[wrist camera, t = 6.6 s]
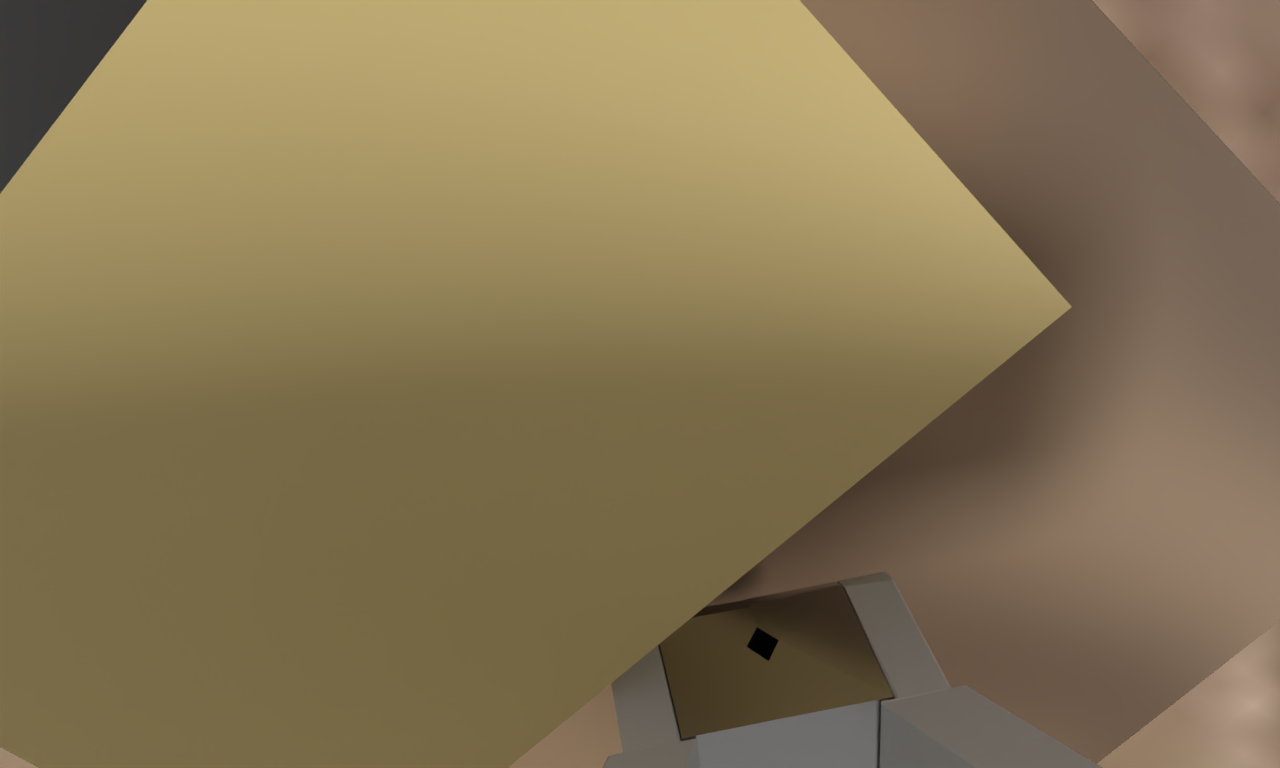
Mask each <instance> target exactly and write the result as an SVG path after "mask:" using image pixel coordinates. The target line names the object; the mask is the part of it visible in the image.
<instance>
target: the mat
mask: <svg viewBox="0 0 1280 768" xmlns="http://www.w3.org/2000/svg"><path fill="white" fill-rule="evenodd" d="M146 1H147V0H0V194H1V192H2V191H3V190H4V188H5V187H6V186H7V184H8V183H9V182H10V180H11V179H12V178H13V176H14V175H15V174H16V172H17V171H18V170H19V169H20V167H21V166H22V165H23V163H24V162H25V161H26V159H27V158H28V157H29V155H30V154H31V153H32V151H33V150H34V149H35V147H36V146H37V145H38V144H39V142H40V141H41V140H42V138H43V137H44V136H45V134H46V133H47V132H48V130H49V129H50V128H51V126H52V125H53V124H54V122H55V121H56V120H57V119H58V117H59V116H60V115H61V113H62V112H63V111H64V109H65V108H66V107H67V105H68V104H69V103H70V101H71V100H72V99H73V97H74V96H75V95H76V94H77V92H78V91H79V90H80V88H81V87H82V86H83V84H84V83H85V82H86V80H87V79H88V78H89V76H90V75H91V74H92V72H93V71H94V70H95V69H96V67H97V66H98V65H99V63H100V62H101V61H102V59H103V58H104V57H105V55H106V54H107V53H108V51H109V50H110V49H111V47H112V46H113V45H114V44H115V42H116V41H117V40H118V38H119V37H120V36H121V34H122V33H123V32H124V30H125V29H126V28H127V26H128V25H129V24H130V23H131V21H132V20H133V19H134V17H135V16H136V15H137V13H138V12H139V11H140V9H141V8H142V7H143V5H144V4H145V3H146Z"/></svg>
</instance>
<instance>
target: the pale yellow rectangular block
mask: <svg viewBox="0 0 1280 768" xmlns="http://www.w3.org/2000/svg"><path fill="white" fill-rule="evenodd" d="M1071 307H1072V306H1071V305H1070V304H1069V303H1068V302H1067V301H1066V300H1065V299H1064V297H1063V296H1062V295H1061V294H1060V293H1059V292H1058V291H1057V290H1056V288H1055V287H1054V286H1053V285H1052V284H1051V283H1050V282H1049V281H1048V279H1047V278H1046V277H1045V276H1044V275H1043V274H1042V273H1041V272H1040V270H1039V269H1038V268H1037V267H1036V266H1035V265H1034V264H1033V263H1032V261H1031V260H1030V259H1029V258H1028V257H1027V256H1026V255H1025V254H1024V252H1023V251H1022V250H1021V249H1020V248H1019V247H1018V246H1017V244H1016V243H1015V242H1014V241H1013V240H1012V239H1011V238H1010V237H1009V235H1008V234H1007V233H1006V232H1005V231H1004V230H1003V229H1002V228H1001V226H1000V225H999V224H998V223H997V222H996V221H995V220H994V219H993V217H992V216H991V215H990V214H989V213H988V212H987V211H986V210H985V208H984V207H983V206H982V205H981V204H980V203H979V202H978V201H977V199H976V198H975V197H974V196H973V195H972V194H971V193H970V192H969V190H968V189H967V188H966V187H965V186H964V185H963V184H962V183H961V181H960V180H959V179H958V178H957V177H956V176H955V175H954V174H953V172H952V171H951V170H950V169H949V168H948V167H947V166H946V165H945V163H944V162H943V161H942V160H941V159H940V158H939V157H938V155H937V154H936V153H935V152H934V151H933V150H932V149H931V148H930V146H929V145H928V144H927V143H926V142H925V141H924V140H923V139H922V137H921V136H920V135H919V134H918V133H917V132H916V131H915V130H914V128H913V127H912V126H911V125H910V124H909V123H908V122H907V121H906V119H905V118H904V117H903V116H902V115H901V114H900V113H899V112H898V110H897V109H896V108H895V107H894V106H893V105H892V104H891V103H890V101H889V100H888V99H887V98H886V97H885V96H884V95H883V94H882V92H881V91H880V90H879V89H878V88H877V87H876V86H875V85H874V83H873V82H872V81H871V80H870V79H869V78H868V77H867V75H866V74H865V73H864V72H863V71H862V70H861V69H860V68H859V66H858V65H857V64H856V63H855V62H854V61H853V60H852V59H851V57H850V56H849V55H848V54H847V53H846V52H845V51H844V50H843V48H842V47H841V46H840V45H839V44H838V43H837V42H836V41H835V39H834V38H833V37H832V36H831V35H830V34H829V33H828V32H827V30H826V29H825V28H824V27H823V26H822V25H821V24H820V23H819V21H818V20H817V19H816V18H815V17H814V16H813V15H812V14H811V12H810V11H809V10H808V9H807V8H806V7H805V6H804V5H803V3H802V2H801V1H800V0H147V1H146V3H145V4H144V5H143V7H142V8H141V9H140V11H139V12H138V13H137V15H136V16H135V17H134V19H133V20H132V21H131V23H130V24H129V25H128V26H127V28H126V29H125V30H124V32H123V33H122V34H121V36H120V37H119V38H118V40H117V41H116V42H115V44H114V45H113V46H112V47H111V49H110V50H109V51H108V53H107V54H106V55H105V57H104V58H103V59H102V61H101V62H100V63H99V65H98V66H97V67H96V69H95V70H94V71H93V72H92V74H91V75H90V76H89V78H88V79H87V80H86V82H85V83H84V84H83V86H82V87H81V88H80V90H79V91H78V92H77V94H76V95H75V96H74V97H73V99H72V100H71V101H70V103H69V104H68V105H67V107H66V108H65V109H64V111H63V112H62V113H61V115H60V116H59V117H58V119H57V120H56V121H55V122H54V124H53V125H52V126H51V128H50V129H49V130H48V132H47V133H46V134H45V136H44V137H43V138H42V140H41V141H40V142H39V144H38V145H37V146H36V147H35V149H34V150H33V151H32V153H31V154H30V155H29V157H28V158H27V159H26V161H25V162H24V163H23V165H22V166H21V167H20V169H19V170H18V171H17V172H16V174H15V175H14V176H13V178H12V179H11V180H10V182H9V183H8V184H7V186H6V187H5V188H4V190H3V191H2V192H1V194H0V747H2V748H3V749H5V750H7V751H9V752H11V753H13V754H15V755H16V756H18V757H20V758H22V759H24V760H26V761H28V762H29V763H31V764H33V765H35V766H37V767H39V768H508V767H509V766H511V765H512V764H513V763H514V762H515V761H517V760H518V759H519V758H520V757H522V756H523V755H524V754H525V753H526V752H528V751H529V750H530V749H531V748H533V747H534V746H535V745H536V744H537V743H539V742H540V741H541V740H542V739H544V738H545V737H546V736H547V735H548V734H550V733H551V732H552V731H553V730H555V729H556V728H557V727H558V726H560V725H561V724H562V723H563V722H564V721H566V720H567V719H568V718H569V717H571V716H572V715H573V714H574V713H575V712H577V711H578V710H579V709H580V708H582V707H583V706H584V705H585V704H586V703H588V702H589V701H590V700H591V699H593V698H594V697H595V696H596V695H597V694H599V693H600V692H601V691H602V690H604V689H605V688H606V687H607V686H608V685H610V684H611V683H612V682H613V681H615V680H616V679H617V678H618V677H620V676H621V675H622V674H623V673H624V672H626V671H627V670H628V669H629V668H631V667H632V666H633V665H634V664H635V663H637V662H638V661H639V660H640V659H642V658H643V657H644V656H645V655H646V654H648V653H649V652H650V651H651V650H653V649H654V648H655V647H656V646H657V645H659V644H660V643H661V642H662V641H664V640H665V639H666V638H667V637H668V636H670V635H671V634H672V633H673V632H675V631H676V630H677V629H678V628H679V627H681V626H682V625H683V624H684V623H686V622H687V621H688V620H689V619H691V618H692V617H693V616H694V615H695V614H697V613H698V612H699V611H700V610H702V609H703V608H704V607H705V606H706V605H708V604H709V603H710V602H711V601H713V600H714V599H715V598H716V597H717V596H719V595H720V594H721V593H722V592H724V591H725V590H726V589H727V588H728V587H730V586H731V585H732V584H733V583H735V582H736V581H737V580H738V579H739V578H741V577H742V576H743V575H744V574H746V573H747V572H748V571H749V570H751V569H752V568H753V567H754V566H755V565H757V564H758V563H759V562H760V561H762V560H763V559H764V558H765V557H766V556H768V555H769V554H770V553H771V552H773V551H774V550H775V549H776V548H777V547H779V546H780V545H781V544H782V543H784V542H785V541H786V540H787V539H788V538H790V537H791V536H792V535H793V534H795V533H796V532H797V531H798V530H799V529H801V528H802V527H803V526H804V525H806V524H807V523H808V522H809V521H810V520H812V519H813V518H814V517H815V516H817V515H818V514H819V513H820V512H822V511H823V510H824V509H825V508H826V507H828V506H829V505H830V504H831V503H833V502H834V501H835V500H836V499H837V498H839V497H840V496H841V495H842V494H844V493H845V492H846V491H847V490H848V489H850V488H851V487H852V486H853V485H855V484H856V483H857V482H858V481H859V480H861V479H862V478H863V477H864V476H866V475H867V474H868V473H869V472H870V471H872V470H873V469H874V468H875V467H877V466H878V465H879V464H880V463H882V462H883V461H884V460H885V459H886V458H888V457H889V456H890V455H891V454H893V453H894V452H895V451H896V450H897V449H899V448H900V447H901V446H902V445H904V444H905V443H906V442H907V441H908V440H910V439H911V438H912V437H913V436H915V435H916V434H917V433H918V432H919V431H921V430H922V429H923V428H924V427H926V426H927V425H928V424H929V423H930V422H932V421H933V420H934V419H935V418H937V417H938V416H939V415H940V414H941V413H943V412H944V411H945V410H946V409H948V408H949V407H950V406H951V405H953V404H954V403H955V402H956V401H957V400H959V399H960V398H961V397H962V396H964V395H965V394H966V393H967V392H968V391H970V390H971V389H972V388H973V387H975V386H976V385H977V384H978V383H979V382H981V381H982V380H983V379H984V378H986V377H987V376H988V375H989V374H990V373H992V372H993V371H994V370H995V369H997V368H998V367H999V366H1000V365H1001V364H1003V363H1004V362H1005V361H1006V360H1008V359H1009V358H1010V357H1011V356H1013V355H1014V354H1015V353H1016V352H1017V351H1019V350H1020V349H1021V348H1022V347H1024V346H1025V345H1026V344H1027V343H1028V342H1030V341H1031V340H1032V339H1033V338H1035V337H1036V336H1037V335H1038V334H1039V333H1041V332H1042V331H1043V330H1044V329H1046V328H1047V327H1048V326H1049V325H1050V324H1052V323H1053V322H1054V321H1055V320H1057V319H1058V318H1059V317H1060V316H1061V315H1063V314H1064V313H1065V312H1066V311H1068V310H1069V309H1070V308H1071Z"/></svg>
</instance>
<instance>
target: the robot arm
mask: <svg viewBox="0 0 1280 768" xmlns="http://www.w3.org/2000/svg"><path fill="white" fill-rule="evenodd" d="M611 686H612V692H613V698H614V704H615V710H616V715H617V721H618V727H619V733H620V739H621V745H622V750H623V753H619V754H614V755H610V756H608V758H607V760H606V761H605V763H604V765H603V767H602V768H1102V767H1100V766H1099V765H1097V764H1095V763H1094V762H1092V761H1090V760H1089V759H1087V758H1085V757H1084V756H1082V755H1080V754H1079V753H1077V752H1075V751H1074V750H1072V749H1070V748H1069V747H1067V746H1065V745H1064V744H1062V743H1060V742H1059V741H1057V740H1056V739H1054V738H1052V737H1051V736H1049V735H1047V734H1046V733H1044V732H1042V731H1041V730H1039V729H1037V728H1036V727H1034V726H1032V725H1031V724H1029V723H1027V722H1026V721H1024V720H1022V719H1021V718H1019V717H1017V716H1016V715H1014V714H1012V713H1011V712H1009V711H1007V710H1006V709H1004V708H1002V707H1001V706H999V705H997V704H996V703H994V702H992V701H991V700H989V699H987V698H986V697H984V696H983V695H981V694H979V693H978V692H976V691H974V690H973V689H971V688H969V687H968V686H966V685H964V686H958V687H952V688H951V687H950V685H949V683H948V681H947V679H946V677H945V675H944V673H943V672H942V670H941V668H940V666H939V664H938V662H937V660H936V659H935V657H934V655H933V653H932V651H931V649H930V647H929V645H928V644H927V642H926V640H925V638H924V636H923V634H922V632H921V630H920V629H919V627H918V625H917V623H916V621H915V619H914V617H913V616H912V614H911V612H910V610H909V608H908V606H907V604H906V602H905V601H904V599H903V597H902V595H901V593H900V591H899V589H898V587H897V586H896V584H895V582H894V580H893V578H892V577H891V576H890V575H888V574H887V573H886V572H879V573H874V574H869V575H864V576H859V577H854V578H849V579H844V580H839V581H838V582H837V583H836V582H830V583H825V584H820V585H815V586H810V587H805V588H800V589H795V590H790V591H785V592H780V593H775V594H770V595H765V596H760V597H755V598H750V599H745V600H743V601H736V602H730V603H724V604H718V605H712V606H706V607H704V608H703V609H702V610H700V611H699V612H698V613H697V614H695V615H694V616H693V617H692V618H691V619H689V620H688V621H687V622H686V623H684V624H683V625H682V626H681V627H679V628H678V629H677V630H676V631H675V632H673V633H672V634H671V635H670V636H668V637H667V638H666V639H665V640H664V641H662V642H661V643H660V644H659V645H657V646H656V647H655V648H654V649H653V650H651V651H650V652H649V653H648V654H646V655H645V656H644V657H643V658H642V659H640V660H639V661H638V662H637V663H635V664H634V665H633V666H632V667H631V668H629V669H628V670H627V671H626V672H624V673H623V674H622V675H621V676H620V677H618V678H617V679H616V680H615V681H613V682H612V683H611Z"/></svg>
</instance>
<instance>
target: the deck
mask: <svg viewBox="0 0 1280 768" xmlns="http://www.w3.org/2000/svg"><path fill="white" fill-rule="evenodd" d="M800 1H801V2H802V3H803V5H804V6H805V7H806V8H807V9H808V10H809V11H810V12H811V14H812V15H813V16H814V17H815V18H816V19H817V20H818V21H819V23H820V24H821V25H822V26H823V27H824V28H825V29H826V30H827V32H828V33H829V34H830V35H831V36H832V37H833V38H834V39H835V41H836V42H837V43H838V44H839V45H840V46H841V47H842V48H843V50H844V51H845V52H846V53H847V54H848V55H849V56H850V57H851V59H852V60H853V61H854V62H855V63H856V64H857V65H858V66H859V68H860V69H861V70H862V71H863V72H864V73H865V74H866V75H867V77H868V78H869V79H870V80H871V81H872V82H873V83H874V85H875V86H876V87H877V88H878V89H879V90H880V91H881V92H882V94H883V95H884V96H885V97H886V98H887V99H888V100H889V101H890V103H891V104H892V105H893V106H894V107H895V108H896V109H897V110H898V112H899V113H900V114H901V115H902V116H903V117H904V118H905V119H906V121H907V122H908V123H909V124H910V125H911V126H912V127H913V128H914V130H915V131H916V132H917V133H918V134H919V135H920V136H921V137H922V139H923V140H924V141H925V142H926V143H927V144H928V145H929V146H930V148H931V149H932V150H933V151H934V152H935V153H936V154H937V155H938V157H939V158H940V159H941V160H942V161H943V162H944V163H945V165H946V166H947V167H948V168H949V169H950V170H951V171H952V172H953V174H954V175H955V176H956V177H957V178H958V179H959V180H960V181H961V183H962V184H963V185H964V186H965V187H966V188H967V189H968V190H969V192H970V193H971V194H972V195H973V196H974V197H975V198H976V199H977V201H978V202H979V203H980V204H981V205H982V206H983V207H984V208H985V210H986V211H987V212H988V213H989V214H990V215H991V216H992V217H993V219H994V220H995V221H996V222H997V223H998V224H999V225H1000V226H1001V228H1002V229H1003V230H1004V231H1005V232H1006V233H1007V234H1008V235H1009V237H1010V238H1011V239H1012V240H1013V241H1014V242H1015V243H1016V244H1017V246H1018V247H1019V248H1020V249H1021V250H1022V251H1023V252H1024V254H1025V255H1026V256H1027V257H1028V258H1029V259H1030V260H1031V261H1032V263H1033V264H1034V265H1035V266H1036V267H1037V268H1038V269H1039V270H1040V272H1041V273H1042V274H1043V275H1044V276H1045V277H1046V278H1047V279H1048V281H1049V282H1050V283H1051V284H1052V285H1053V286H1054V287H1055V288H1056V290H1057V291H1058V292H1059V293H1060V294H1061V295H1062V296H1063V297H1064V299H1065V300H1066V301H1067V302H1068V303H1069V304H1070V305H1071V306H1072V307H1071V308H1070V309H1069V310H1068V311H1066V312H1065V313H1064V314H1063V315H1061V316H1060V317H1059V318H1058V319H1057V320H1055V321H1054V322H1053V323H1052V324H1050V325H1049V326H1048V327H1047V328H1046V329H1044V330H1043V331H1042V332H1041V333H1039V334H1038V335H1037V336H1036V337H1035V338H1033V339H1032V340H1031V341H1030V342H1028V343H1027V344H1026V345H1025V346H1024V347H1022V348H1021V349H1020V350H1019V351H1017V352H1016V353H1015V354H1014V355H1013V356H1011V357H1010V358H1009V359H1008V360H1006V361H1005V362H1004V363H1003V364H1001V365H1000V366H999V367H998V368H997V369H995V370H994V371H993V372H992V373H990V374H989V375H988V376H987V377H986V378H984V379H983V380H982V381H981V382H979V383H978V384H977V385H976V386H975V387H973V388H972V389H971V390H970V391H968V392H967V393H966V394H965V395H964V396H962V397H961V398H960V399H959V400H957V401H956V402H955V403H954V404H953V405H951V406H950V407H949V408H948V409H946V410H945V411H944V412H943V413H941V414H940V415H939V416H938V417H937V418H935V419H934V420H933V421H932V422H930V423H929V424H928V425H927V426H926V427H924V428H923V429H922V430H921V431H919V432H918V433H917V434H916V435H915V436H913V437H912V438H911V439H910V440H908V441H907V442H906V443H905V444H904V445H902V446H901V447H900V448H899V449H897V450H896V451H895V452H894V453H893V454H891V455H890V456H889V457H888V458H886V459H885V460H884V461H883V462H882V463H880V464H879V465H878V466H877V467H875V468H874V469H873V470H872V471H870V472H869V473H868V474H867V475H866V476H864V477H863V478H862V479H861V480H859V481H858V482H857V483H856V484H855V485H853V486H852V487H851V488H850V489H848V490H847V491H846V492H845V493H844V494H842V495H841V496H840V497H839V498H837V499H836V500H835V501H834V502H833V503H831V504H830V505H829V506H828V507H826V508H825V509H824V510H823V511H822V512H820V513H819V514H818V515H817V516H815V517H814V518H813V519H812V520H810V521H809V522H808V523H807V524H806V525H804V526H803V527H802V528H801V529H799V530H798V531H797V532H796V533H795V534H793V535H792V536H791V537H790V538H788V539H787V540H786V541H785V542H784V543H782V544H781V545H780V546H779V547H777V548H776V549H775V550H774V551H773V552H771V553H770V554H769V555H768V556H766V557H765V558H764V559H763V560H762V561H760V562H759V563H758V564H757V565H755V566H754V567H753V568H752V569H751V570H749V571H748V572H747V573H746V574H744V575H743V576H742V577H741V578H739V579H738V580H737V581H736V582H735V583H733V584H732V585H731V586H730V587H728V588H727V589H726V590H725V591H724V592H722V593H721V594H720V595H719V596H717V597H716V598H715V599H714V600H713V601H711V602H710V603H709V604H708V605H706V606H712V605H718V604H724V603H730V602H736V601H743V600H745V599H750V598H755V597H760V596H765V595H770V594H775V593H780V592H785V591H790V590H795V589H800V588H805V587H810V586H815V585H820V584H825V583H830V582H836V583H837V582H838V581H839V580H844V579H849V578H854V577H859V576H864V575H869V574H874V573H879V572H886V573H887V574H888V575H890V576H891V577H892V578H893V580H894V582H895V584H896V586H897V587H898V589H899V591H900V593H901V595H902V597H903V599H904V601H905V602H906V604H907V606H908V608H909V610H910V612H911V614H912V616H913V617H914V619H915V621H916V623H917V625H918V627H919V629H920V630H921V632H922V634H923V636H924V638H925V640H926V642H927V644H928V645H929V647H930V649H931V651H932V653H933V655H934V657H935V659H936V660H937V662H938V664H939V666H940V668H941V670H942V672H943V673H944V675H945V677H946V679H947V681H948V683H949V685H950V687H951V688H952V687H958V686H964V685H966V686H968V687H969V688H971V689H973V690H974V691H976V692H978V693H979V694H981V695H983V696H984V697H986V698H987V699H989V700H991V701H992V702H994V703H996V704H997V705H999V706H1001V707H1002V708H1004V709H1006V710H1007V711H1009V712H1011V713H1012V714H1014V715H1016V716H1017V717H1019V718H1021V719H1022V720H1024V721H1026V722H1027V723H1029V724H1031V725H1032V726H1034V727H1036V728H1037V729H1039V730H1041V731H1042V732H1044V733H1046V734H1047V735H1049V736H1051V737H1052V738H1054V739H1056V740H1057V741H1059V742H1060V743H1062V744H1064V745H1065V746H1067V747H1069V748H1070V749H1072V750H1074V751H1075V752H1077V753H1079V754H1080V755H1082V756H1084V757H1085V758H1087V759H1089V760H1090V761H1092V762H1094V763H1095V764H1097V763H1098V762H1099V761H1101V760H1102V759H1103V758H1104V757H1106V756H1107V755H1108V754H1109V753H1111V752H1112V751H1113V750H1115V749H1116V748H1117V747H1118V746H1120V745H1121V744H1122V743H1124V742H1125V741H1126V740H1127V739H1129V738H1130V737H1131V736H1133V735H1134V734H1135V733H1136V732H1138V731H1139V730H1140V729H1141V728H1143V727H1144V726H1145V725H1147V724H1148V723H1149V722H1150V721H1152V720H1153V719H1154V718H1156V717H1157V716H1158V715H1159V714H1161V713H1162V712H1163V711H1165V710H1166V709H1167V708H1168V707H1170V706H1171V705H1172V704H1173V703H1175V702H1176V701H1177V700H1179V699H1180V698H1181V697H1182V696H1184V695H1185V694H1186V693H1188V692H1189V691H1190V690H1191V689H1193V688H1194V687H1195V686H1196V685H1198V684H1199V683H1200V682H1202V681H1203V680H1204V679H1205V678H1207V677H1208V676H1209V675H1211V674H1212V673H1213V672H1214V671H1216V670H1217V669H1218V668H1220V667H1221V666H1222V665H1223V664H1225V663H1226V662H1227V661H1228V660H1230V659H1231V658H1232V657H1234V656H1235V655H1236V654H1237V653H1239V652H1240V651H1241V650H1243V649H1244V648H1245V647H1246V646H1248V645H1249V644H1250V643H1252V642H1253V641H1254V640H1255V639H1257V638H1258V637H1259V636H1260V635H1262V634H1263V633H1264V632H1266V631H1267V630H1268V629H1269V628H1271V627H1272V626H1273V625H1275V624H1276V623H1277V622H1278V621H1280V203H1279V202H1278V201H1277V200H1276V199H1275V198H1274V197H1273V196H1272V195H1271V194H1270V192H1269V191H1268V190H1267V189H1266V188H1265V187H1264V186H1263V185H1262V184H1261V183H1260V182H1259V181H1258V179H1257V178H1256V177H1255V176H1254V175H1253V174H1252V173H1251V172H1250V171H1249V170H1248V169H1247V168H1246V166H1245V165H1244V164H1243V163H1242V162H1241V161H1240V160H1239V159H1238V158H1237V157H1236V156H1235V155H1234V153H1233V152H1232V151H1231V150H1230V149H1229V148H1228V147H1227V146H1226V145H1225V144H1224V143H1223V142H1222V141H1221V139H1220V138H1219V137H1218V136H1217V135H1216V134H1215V133H1214V132H1213V131H1212V130H1211V129H1210V128H1209V126H1208V125H1207V124H1206V123H1205V122H1204V121H1203V120H1202V119H1201V118H1200V117H1199V116H1198V115H1197V113H1196V112H1195V111H1194V110H1193V109H1192V108H1191V107H1190V106H1189V105H1188V104H1187V103H1186V102H1185V100H1184V99H1183V98H1182V97H1181V96H1180V95H1179V94H1178V93H1177V92H1176V91H1175V90H1174V89H1173V88H1172V86H1171V85H1170V84H1169V83H1168V82H1167V81H1166V80H1165V79H1164V78H1163V77H1162V76H1161V75H1160V73H1159V72H1158V71H1157V70H1156V69H1155V68H1154V67H1153V66H1152V65H1151V64H1150V63H1149V62H1148V60H1147V59H1146V58H1145V57H1144V56H1143V55H1142V54H1141V53H1140V52H1139V51H1138V50H1137V49H1136V47H1135V46H1134V45H1133V44H1132V43H1131V42H1130V41H1129V40H1128V39H1127V38H1126V37H1125V36H1124V35H1123V33H1122V32H1121V31H1120V30H1119V29H1118V28H1117V27H1116V26H1115V25H1114V24H1113V23H1112V22H1111V20H1110V19H1109V18H1108V17H1107V16H1106V15H1105V14H1104V13H1103V12H1102V11H1101V10H1100V9H1099V7H1098V6H1097V5H1096V4H1095V3H1094V2H1093V1H1092V0H800ZM706 606H705V607H706ZM619 753H623V750H622V745H621V739H620V733H619V727H618V721H617V715H616V710H615V704H614V698H613V692H612V686H611V684H610V685H608V686H607V687H606V688H605V689H604V690H602V691H601V692H600V693H599V694H597V695H596V696H595V697H594V698H593V699H591V700H590V701H589V702H588V703H586V704H585V705H584V706H583V707H582V708H580V709H579V710H578V711H577V712H575V713H574V714H573V715H572V716H571V717H569V718H568V719H567V720H566V721H564V722H563V723H562V724H561V725H560V726H558V727H557V728H556V729H555V730H553V731H552V732H551V733H550V734H548V735H547V736H546V737H545V738H544V739H542V740H541V741H540V742H539V743H537V744H536V745H535V746H534V747H533V748H531V749H530V750H529V751H528V752H526V753H525V754H524V755H523V756H522V757H520V758H519V759H518V760H517V761H515V762H514V763H513V764H512V765H511V766H509V767H508V768H602V767H603V765H604V763H605V761H606V760H607V758H608V756H610V755H614V754H619Z"/></svg>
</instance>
